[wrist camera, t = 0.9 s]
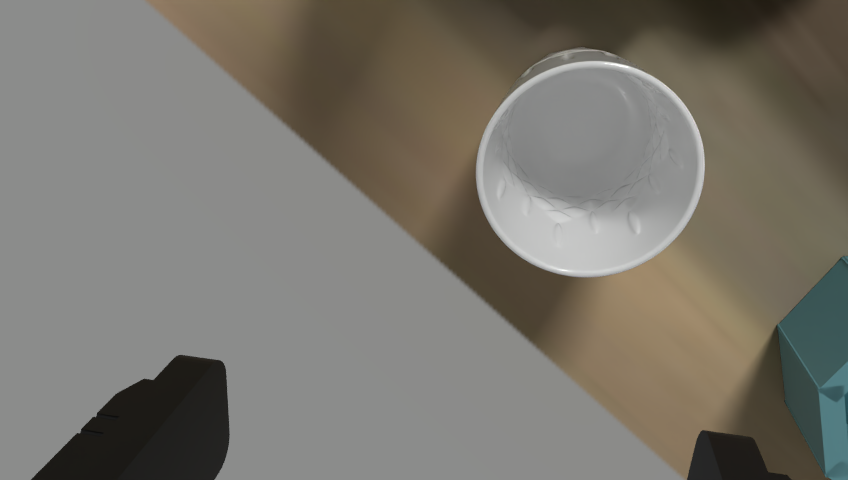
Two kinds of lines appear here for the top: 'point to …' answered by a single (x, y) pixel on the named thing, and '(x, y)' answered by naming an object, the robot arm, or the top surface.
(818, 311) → the bowl
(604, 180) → the white cup
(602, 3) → the top surface
